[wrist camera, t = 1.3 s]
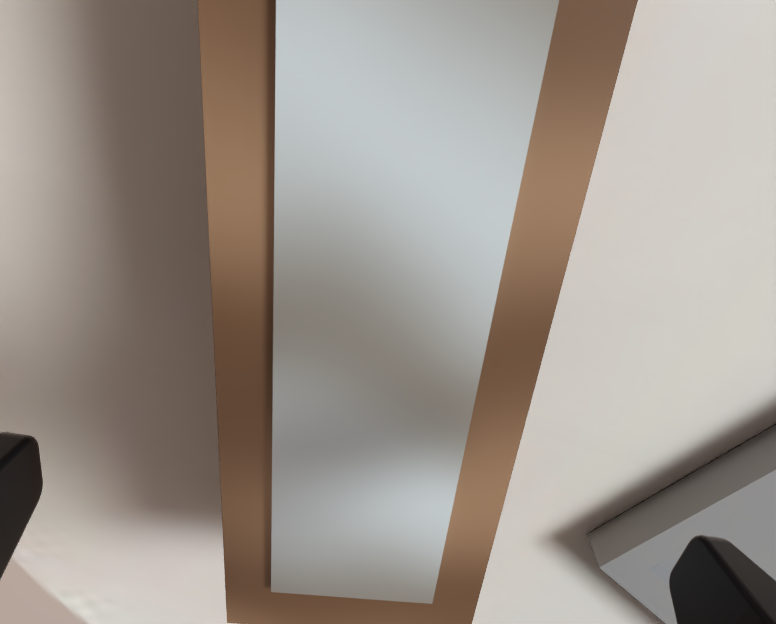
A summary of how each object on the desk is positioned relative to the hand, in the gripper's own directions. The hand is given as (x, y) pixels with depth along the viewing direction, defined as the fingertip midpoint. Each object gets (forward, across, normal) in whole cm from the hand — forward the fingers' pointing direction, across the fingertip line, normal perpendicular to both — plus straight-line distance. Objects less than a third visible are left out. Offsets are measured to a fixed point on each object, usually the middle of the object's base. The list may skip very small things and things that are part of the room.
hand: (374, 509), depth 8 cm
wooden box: (+7, 0, 0) cm, 7 cm away
